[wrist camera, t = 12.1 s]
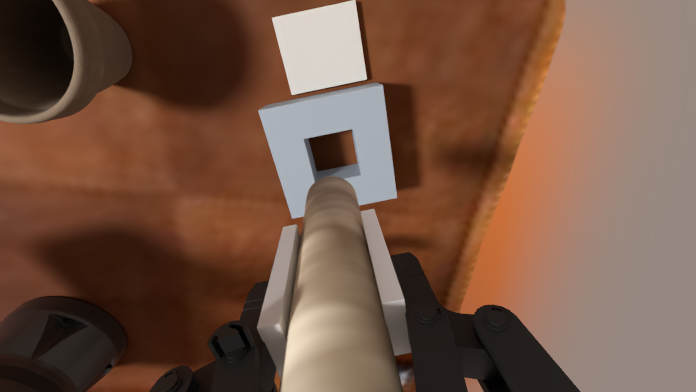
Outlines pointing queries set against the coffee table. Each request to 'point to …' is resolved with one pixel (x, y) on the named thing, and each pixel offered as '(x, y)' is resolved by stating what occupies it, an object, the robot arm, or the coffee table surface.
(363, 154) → the block
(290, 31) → the mat
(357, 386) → the dowel
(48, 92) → the flower pot
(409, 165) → the coffee table surface
